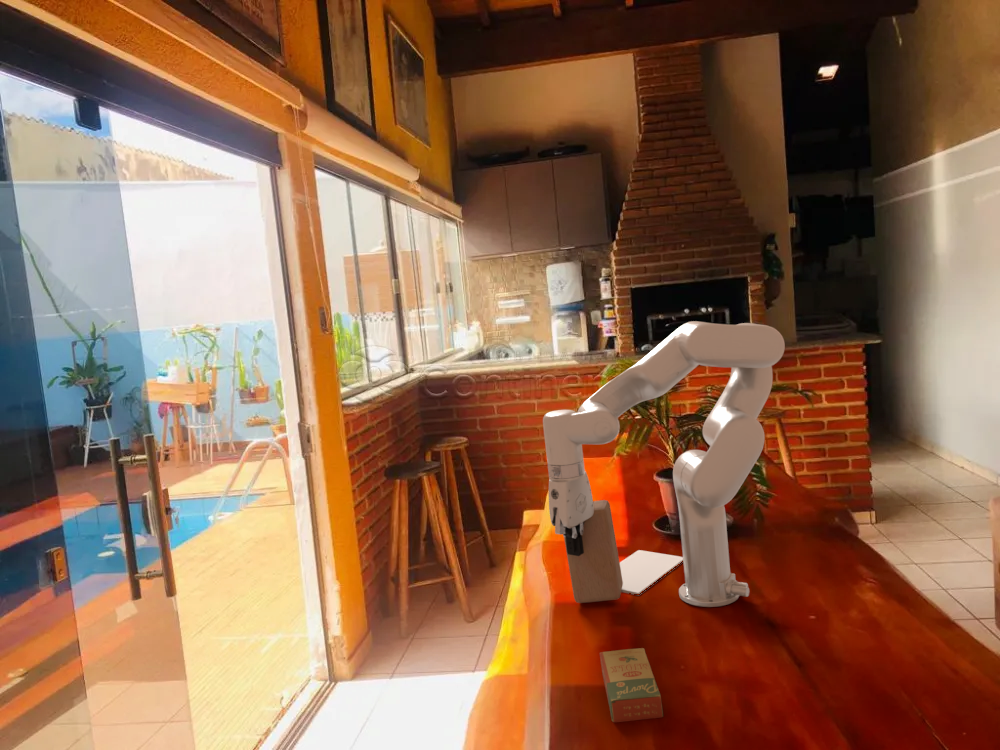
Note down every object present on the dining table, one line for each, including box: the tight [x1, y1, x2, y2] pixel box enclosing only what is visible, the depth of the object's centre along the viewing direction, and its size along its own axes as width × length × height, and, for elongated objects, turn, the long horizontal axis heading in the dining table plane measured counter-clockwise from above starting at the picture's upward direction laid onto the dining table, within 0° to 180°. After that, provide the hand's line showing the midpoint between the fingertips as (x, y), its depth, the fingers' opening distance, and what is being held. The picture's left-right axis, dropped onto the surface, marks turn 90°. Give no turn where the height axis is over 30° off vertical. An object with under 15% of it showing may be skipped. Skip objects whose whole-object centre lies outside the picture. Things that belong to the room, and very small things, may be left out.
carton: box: [599, 647, 664, 723], centre depth 129 cm, size 8×16×4 cm, turn 179°
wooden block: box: [563, 499, 623, 604], centre depth 167 cm, size 10×10×20 cm
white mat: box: [619, 549, 683, 595], centre depth 179 cm, size 13×22×1 cm, turn 139°
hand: (575, 553), depth 160 cm, fingers closed
